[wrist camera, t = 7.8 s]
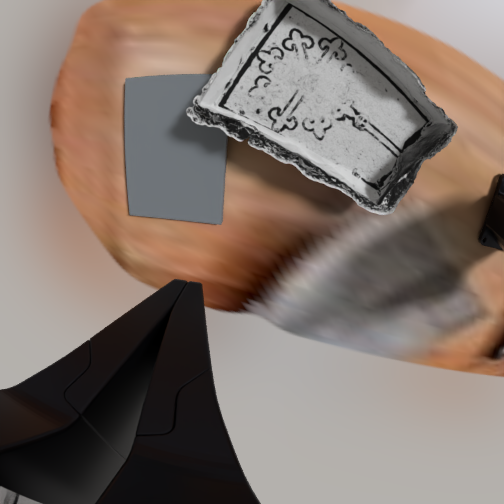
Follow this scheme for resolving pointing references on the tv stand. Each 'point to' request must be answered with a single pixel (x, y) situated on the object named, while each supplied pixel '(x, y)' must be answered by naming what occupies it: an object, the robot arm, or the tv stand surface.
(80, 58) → the tv stand surface
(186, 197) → the mat
